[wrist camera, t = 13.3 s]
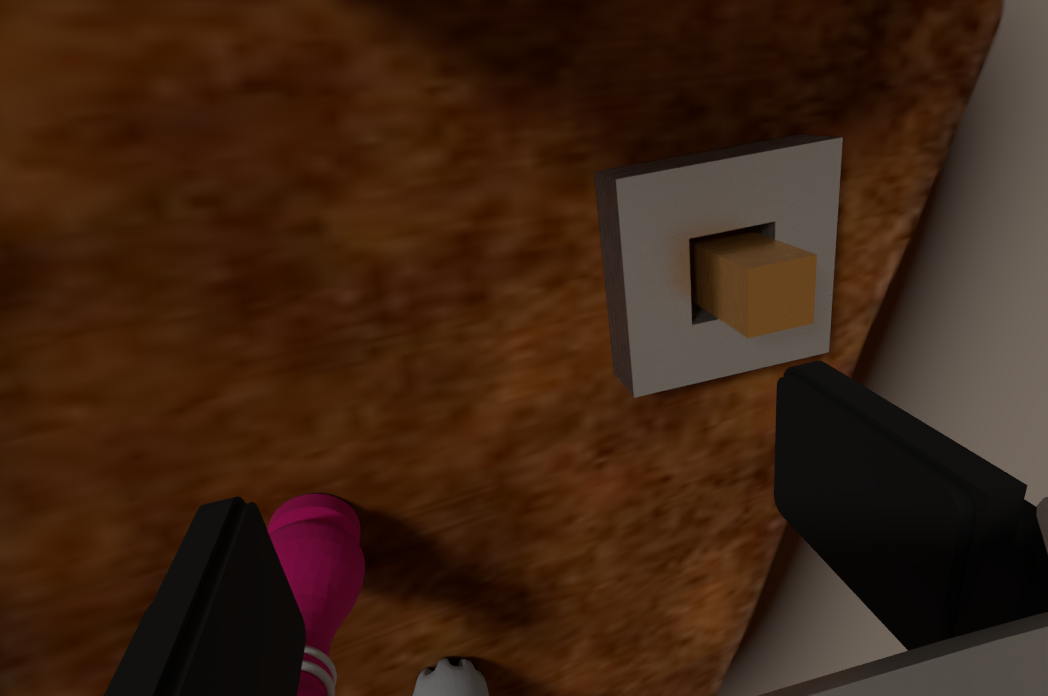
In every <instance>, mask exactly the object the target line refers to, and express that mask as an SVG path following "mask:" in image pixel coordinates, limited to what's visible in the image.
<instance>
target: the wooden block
mask: <svg viewBox="0 0 1048 696" xmlns="http://www.w3.org/2000/svg"><path fill="white" fill-rule="evenodd" d="M689 255H690V282H691V301H693V302H694V303H696V304H697V305H699V306H700V307H702V308H703V309H705V310H706V311H708V312H709V313H711V314H712V315H714V316H715V317H717V318H718V319H720V320H721V321H723V322H724V323H726V324H727V325H729V326H730V327H732V328H733V329H735V330H736V331H738V332H739V333H741V334H742V335H744V336H745V337H747V338H752V337H756V336H761V335H765V334H769V333H774V332H778V331H783V330H787V329H791V328H796V327H800V326H805V325H809V324H813V323H814V307H815V287H816V268H817V254H814V253H811V252H808V251H806V250H803V249H800V248H797V247H794V246H792V245H789V244H786V243H783V242H781V241H778V240H775V239H772V238H769V237H767V236H764V235H761V234H758V233H756V232H753V231H750V230H747V229H744V228H740V229H735V230H730V231H725V232H720V233H715V234H710V235H705V236H700V237H695V238H690V239H689Z"/></svg>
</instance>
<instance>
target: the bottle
mask: <svg viewBox="0 0 1048 696" xmlns="http://www.w3.org/2000/svg"><path fill="white" fill-rule="evenodd" d="M413 696H489V693H488V688H487V684H486V681H485V678H484V676H483V675H482V674H481V672H479V671H478V670H475V668H474V666H473V664H472V663H471V662H470V661H468V660H466V659H461V660H460V661H459V664H458V666H453V665H451V664H450V663H449V661H448V659H447V658H444V659H441V660H439V662H438V664H437V667H436V669H435V670H434V671H433V672H432V670H430V669H429V668H427V669H424V670H423V671H422V672H421V673H420V675H419V676H418V679H417V682H416V686H415V690H414V693H413Z"/></svg>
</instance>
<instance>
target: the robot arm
mask: <svg viewBox="0 0 1048 696" xmlns="http://www.w3.org/2000/svg"><path fill="white" fill-rule="evenodd" d="M1026 489H1027V485H1026V484H1024V483H1022V482H1021V481H1019V480H1018V479H1016V478H1014V477H1012V476H1011V475H1009V474H1008V473H1006V472H1004V471H1003V470H1001V469H1000V468H998V467H996V466H994V465H993V464H991V463H990V462H988V461H986V460H985V459H983V458H981V457H980V456H978V455H976V454H975V453H973V452H971V451H970V450H968V449H967V448H965V447H963V446H961V445H960V444H958V443H956V442H955V441H953V440H952V439H950V438H948V437H947V436H945V435H943V434H942V433H940V432H938V431H937V430H935V429H934V428H932V427H930V426H928V425H927V424H925V423H924V422H922V421H920V420H919V419H917V418H915V417H914V416H912V415H910V414H909V413H907V412H905V411H904V410H902V409H901V408H899V407H897V406H896V405H894V404H892V403H890V402H889V401H887V400H886V399H884V398H882V397H880V396H879V395H877V394H876V393H874V392H872V391H871V390H869V389H868V388H866V387H864V386H863V385H861V384H859V383H858V382H856V381H854V380H853V379H851V378H849V377H848V376H846V375H844V374H843V373H841V372H839V371H838V370H836V369H835V368H833V367H831V366H830V365H828V364H826V363H825V362H822V361H814V362H810V363H805V364H801V365H797V366H793V367H789V368H788V369H786V371H785V373H784V377H781V378H780V379H779V380H778V382H777V401H776V439H775V477H774V499H775V503H776V506H777V508H778V510H779V512H780V513H781V515H782V516H783V517H784V518H785V519H786V520H787V521H788V523H789V524H790V525H791V526H792V527H793V528H794V529H795V530H796V531H797V532H798V533H799V534H800V535H801V536H802V537H803V538H804V540H805V541H806V542H807V543H808V544H809V545H810V546H811V547H812V548H813V549H814V550H815V551H816V552H817V554H818V555H819V556H820V557H821V558H822V559H823V560H824V561H825V562H826V563H827V564H828V565H829V566H830V568H831V569H832V570H833V571H834V572H835V573H836V574H837V575H838V576H839V577H840V578H841V579H842V580H843V581H844V582H845V583H846V584H847V586H848V587H849V588H850V589H851V590H852V591H853V592H854V593H855V594H856V595H857V596H858V597H859V598H860V599H861V601H862V602H863V603H864V604H865V605H866V606H867V607H868V608H869V609H870V610H871V611H872V612H873V613H874V615H875V616H876V617H877V618H878V619H879V620H880V621H881V622H882V623H883V624H884V625H885V626H886V627H887V628H888V630H889V631H890V632H891V633H892V634H893V635H894V636H895V637H896V638H897V639H898V640H899V641H900V642H901V643H902V645H903V646H904V647H905V648H906V649H907V650H908V651H906V652H903V653H899V654H896V655H893V656H889V657H886V658H883V659H879V660H876V661H873V662H869V663H866V664H863V665H859V666H856V667H852V668H849V669H846V670H842V671H839V672H836V673H832V674H829V675H825V676H822V677H819V678H816V679H812V680H809V681H805V682H802V683H799V684H795V685H792V686H789V687H785V688H782V689H778V690H775V691H772V692H769V693H765V694H762V695H759V696H1048V497H1046V498H1044V499H1043V500H1042V501H1041V502H1040V503H1039V504H1038V505H1037V507H1036V506H1034V505H1032V504H1031V503H1029V502H1028V501H1026V500H1024V497H1025V493H1026ZM305 644H306V628H305V623H304V619H303V616H302V614H301V611H300V609H299V607H298V604H297V602H296V599H295V597H294V594H293V592H292V589H291V587H290V585H289V582H288V580H287V577H286V575H285V572H284V570H283V567H282V565H281V562H280V560H279V558H278V555H277V553H276V550H275V548H274V545H273V543H272V540H271V538H270V536H269V533H268V531H267V528H266V526H265V523H264V521H263V518H262V516H261V513H260V511H259V509H258V507H257V505H256V504H255V503H253V502H251V503H245V501H244V500H243V499H242V498H241V497H234V498H229V499H225V500H221V501H217V502H212V503H208V504H204V505H202V506H200V508H199V509H198V511H197V513H196V515H195V517H194V519H193V521H192V523H191V525H190V527H189V529H188V531H187V533H186V535H185V537H184V539H183V541H182V544H181V546H180V548H179V550H178V552H177V554H176V556H175V558H174V560H173V562H172V564H171V566H170V568H169V570H168V572H167V574H166V576H165V578H164V580H163V583H162V585H161V587H160V589H159V591H158V593H157V595H156V597H155V599H154V601H153V603H152V604H151V605H150V606H149V607H148V609H147V610H146V612H145V614H144V616H143V618H142V620H141V622H140V624H139V626H138V628H137V630H136V632H135V634H134V636H133V638H132V640H131V642H130V644H129V646H128V648H127V650H126V652H125V654H124V656H123V658H122V660H121V662H120V664H119V666H118V668H117V670H116V672H115V674H114V676H113V678H112V681H111V683H110V685H109V687H108V689H107V691H106V693H105V695H104V696H297V692H298V686H299V680H300V674H301V668H302V662H303V656H304V650H305Z"/></svg>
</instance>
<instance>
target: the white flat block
mask: <svg viewBox="0 0 1048 696" xmlns="http://www.w3.org/2000/svg"><path fill="white" fill-rule="evenodd" d="M842 142H843V137H833V136H820V135H807V134H798V135H793V136H787V137H782V138H776V139H771V140H766V141H760V142H755V143H749V144H744V145H738V146H733V147H727V148H722V149H716V150H711V151H706V152H700V153H695V154H689V155H684V156H678V157H673V158H667V159H662V160H657V161H651V162H646V163H640V164H635V165H629V166H624V167H618V168H613V169H607V170H602V171H597V172H594V174H595V185H596V195H597V205H598V215H599V226H600V236H601V246H602V257H603V267H604V277H605V287H606V298H607V308H608V318H609V329H610V339H611V349H612V359H613V370H614V373H615V375H616V376H617V377H618V378H619V380H620V381H621V382H622V383H623V385H624V386H625V387H626V388H627V390H628V391H629V392H630V393H631V395H632V396H633V397H634V398H635V397H639V396H643V395H647V394H652V393H656V392H660V391H665V390H669V389H673V388H677V387H682V386H686V385H690V384H695V383H699V382H703V381H708V380H712V379H716V378H720V377H725V376H729V375H733V374H738V373H742V372H746V371H750V370H755V369H759V368H763V367H768V366H772V365H776V364H780V363H785V362H789V361H793V360H798V359H802V358H806V357H811V356H815V355H819V354H823V353H828V352H829V343H830V328H831V312H832V297H833V281H834V266H835V250H836V235H837V219H838V204H839V188H840V173H841V157H842ZM740 228H744V229H747V230H750V231H753V232H756V233H758V234H761V235H764V236H767V237H769V238H772V239H775V240H778V241H781V242H783V243H786V244H789V245H792V246H794V247H797V248H800V249H803V250H806V251H808V252H811V253H814V254H817V268H816V287H815V307H814V323H813V324H809V325H805V326H800V327H796V328H791V329H787V330H783V331H778V332H774V333H769V334H765V335H761V336H756V337H752V338H747V337H745V336H744V335H742V334H741V333H739V332H738V331H736V330H735V329H733V328H732V327H730V326H729V325H727V324H726V323H724V322H723V321H721V320H720V319H718V318H717V317H715V316H714V315H712V314H711V313H709V312H708V311H706V310H705V309H703V308H702V307H700V306H699V305H697V304H696V303H694V302H693V301H691V282H690V255H689V239H690V238H695V237H700V236H705V235H710V234H715V233H720V232H725V231H730V230H735V229H740Z"/></svg>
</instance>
